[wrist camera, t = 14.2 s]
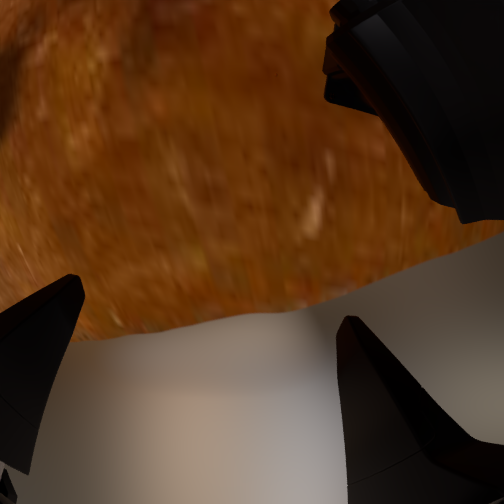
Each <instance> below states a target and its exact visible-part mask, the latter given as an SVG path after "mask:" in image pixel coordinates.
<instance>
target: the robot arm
mask: <svg viewBox="0 0 504 504" xmlns="http://www.w3.org/2000/svg"><path fill="white" fill-rule="evenodd" d="M329 13H330V16H331V18H332V20H333V21H334V22H335V24H334V32H333V33H332V34H330V35H329V36H328V37H327V38H326V50H325V57H324V63H323V70H322V71H323V72H324V74H325V75H327V79H326V85H325V91H324V98H325V100H326V101H327V102H329V103H333V104H337V105H341V106H345V107H348V108H352V109H356V110H359V111H363V112H366V113H369V114H373V115H376V116H379V117H380V118H381V120H382V121H383V123H384V124H385V126H386V127H387V129H388V130H389V132H390V133H391V135H392V137H393V138H394V140H395V141H396V143H397V145H398V146H399V148H400V150H401V151H402V153H403V155H404V156H405V158H406V160H407V161H408V163H409V165H410V167H411V169H412V170H413V172H414V174H415V176H416V178H417V180H418V181H419V183H420V184H421V186H422V187H423V189H424V190H425V191H426V192H427V193H428V195H429V197H430V199H431V200H433V201H435V202H437V203H439V204H441V205H444V206H448V207H452V208H455V209H456V212H457V214H458V217H459V220H460V222H461V223H462V224H467V223H472V222H477V221H481V220H504V0H340V1H339V2H338V3H336V4H335V5H334V6H333V7H332V8H331V9H330V11H329ZM329 93H333V94H334V95H335V97H334V99H332V100H331V99H330V98H329ZM84 300H85V292H84V289H83V285H82V282H81V279H80V277H79V276H78V275H74V274H68V275H66V276H64V277H62V278H60V279H58V280H57V281H55V282H53V283H51V284H49V285H47V286H46V287H44V288H42V289H40V290H39V291H37V292H35V293H33V294H32V295H30V296H28V297H26V298H25V299H23V300H21V301H20V302H18V303H16V304H15V305H13V306H11V307H10V308H8V309H6V310H5V311H3V312H1V313H0V504H16V501H17V494H16V492H15V490H14V487H13V485H12V483H11V480H10V478H9V475H8V472H7V470H6V469H5V468H4V466H5V464H7V465H8V466H10V467H12V468H14V469H16V470H18V471H20V472H22V473H24V474H26V475H29V472H30V466H31V461H32V456H33V452H34V447H35V442H36V439H37V435H38V430H39V427H40V423H41V420H42V416H43V413H44V409H45V406H46V403H47V400H48V397H49V394H50V391H51V388H52V385H53V382H54V380H55V377H56V374H57V371H58V369H59V366H60V364H61V361H62V359H63V356H64V353H65V351H66V349H67V346H68V344H69V342H70V339H71V337H72V334H73V331H74V329H75V326H76V323H77V320H78V317H79V314H80V311H81V308H82V306H83V303H84ZM336 349H337V379H338V388H339V396H340V404H341V413H342V421H343V432H344V442H345V454H346V468H347V485H348V486H347V489H348V504H504V445H500V444H494V443H488V442H483V441H479V440H477V439H475V438H473V437H471V436H470V435H469V434H468V433H467V432H466V431H465V430H464V429H463V428H461V427H460V426H459V425H458V424H457V423H456V422H455V421H454V420H453V419H452V418H451V417H450V416H449V415H448V414H447V413H446V412H445V411H444V410H443V409H442V408H441V407H440V406H439V405H438V404H437V403H436V402H435V401H434V400H433V398H432V397H431V396H430V395H429V394H428V393H427V392H426V391H425V389H424V388H421V385H420V384H419V383H418V381H417V380H416V379H415V378H414V377H413V376H412V375H411V374H410V372H409V371H408V370H407V369H406V368H405V367H404V366H403V365H402V364H401V362H400V361H399V360H398V359H397V358H396V357H395V356H394V355H393V354H392V353H391V351H390V350H389V349H388V348H387V347H386V346H385V345H384V344H383V343H382V342H381V341H380V339H379V338H378V337H377V336H376V335H375V334H374V333H373V332H372V331H371V330H370V329H369V328H368V327H367V326H366V325H365V323H364V322H363V321H362V320H361V319H360V318H359V317H357V316H349V315H348V316H346V317H345V318H344V319H343V321H342V323H341V325H340V327H339V330H338V332H337V335H336Z"/></svg>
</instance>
